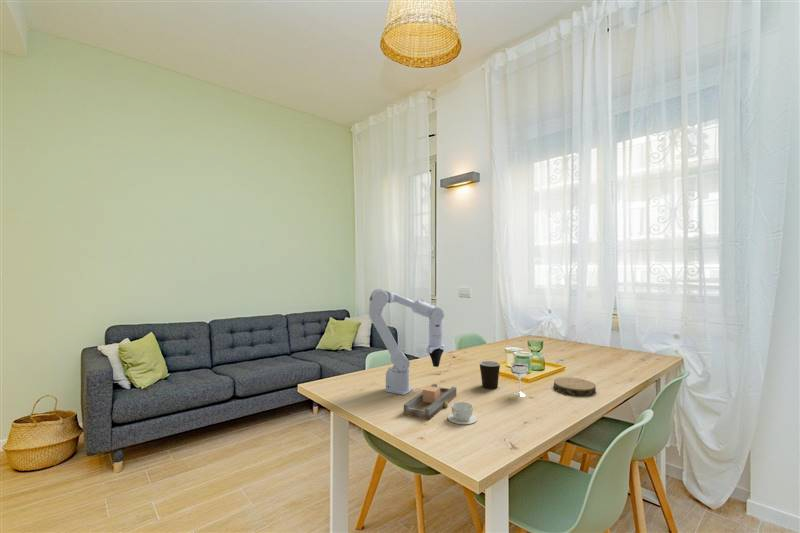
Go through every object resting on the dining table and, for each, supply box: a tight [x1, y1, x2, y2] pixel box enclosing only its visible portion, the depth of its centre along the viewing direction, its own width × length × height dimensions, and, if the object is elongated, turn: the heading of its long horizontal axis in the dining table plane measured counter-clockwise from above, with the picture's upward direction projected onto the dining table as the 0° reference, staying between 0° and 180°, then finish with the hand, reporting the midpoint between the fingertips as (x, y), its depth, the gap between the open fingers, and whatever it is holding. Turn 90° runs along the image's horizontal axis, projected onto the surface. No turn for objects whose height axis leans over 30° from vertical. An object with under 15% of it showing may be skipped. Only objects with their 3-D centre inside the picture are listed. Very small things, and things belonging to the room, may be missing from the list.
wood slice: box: [553, 376, 597, 397], centre depth 155 cm, size 16×16×3 cm
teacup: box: [447, 401, 478, 425], centre depth 127 cm, size 10×10×5 cm
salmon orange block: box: [422, 385, 440, 403], centre depth 140 cm, size 5×5×4 cm
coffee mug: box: [479, 360, 501, 390], centre depth 161 cm, size 12×9×10 cm
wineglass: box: [510, 361, 529, 397], centre depth 150 cm, size 7×7×12 cm
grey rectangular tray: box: [403, 383, 457, 421], centre depth 140 cm, size 12×26×4 cm, turn 151°
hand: (436, 366), depth 159 cm, fingers closed
